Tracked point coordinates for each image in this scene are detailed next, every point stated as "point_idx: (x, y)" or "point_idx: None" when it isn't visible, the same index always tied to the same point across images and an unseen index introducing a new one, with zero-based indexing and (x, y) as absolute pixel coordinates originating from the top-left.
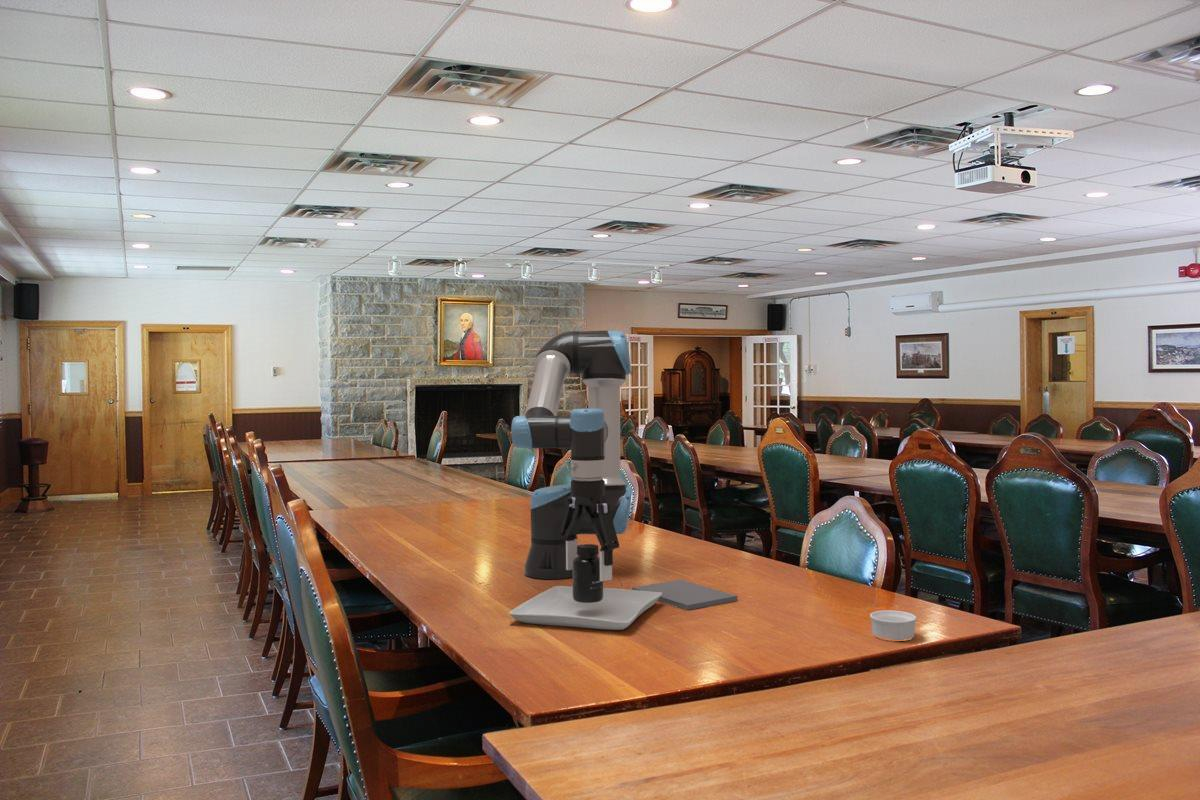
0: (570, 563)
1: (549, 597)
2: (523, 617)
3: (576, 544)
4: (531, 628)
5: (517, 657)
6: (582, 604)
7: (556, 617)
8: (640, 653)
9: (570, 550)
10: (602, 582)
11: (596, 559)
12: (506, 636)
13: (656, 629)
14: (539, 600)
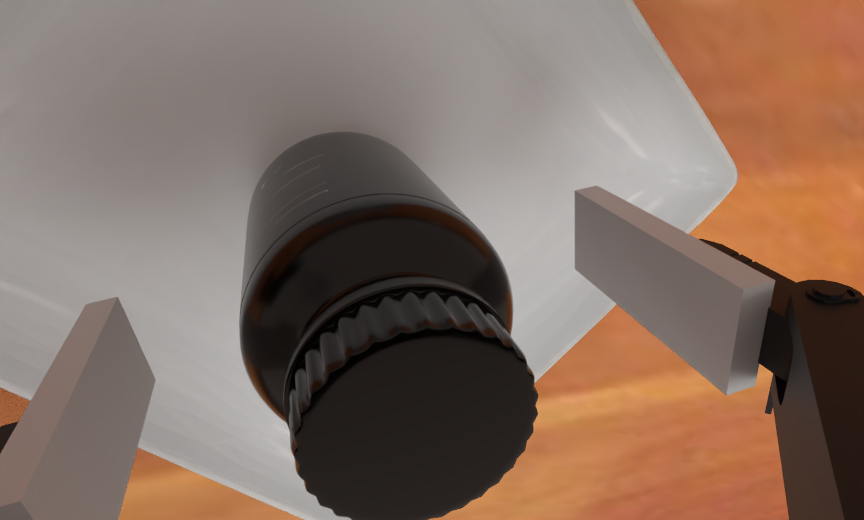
0: (134, 392)
1: (2, 327)
2: None
3: (49, 470)
4: None
5: (658, 498)
6: (122, 153)
7: None
8: (845, 208)
9: (107, 483)
10: (431, 180)
11: (494, 303)
12: (481, 513)
13: (711, 9)
14: None
